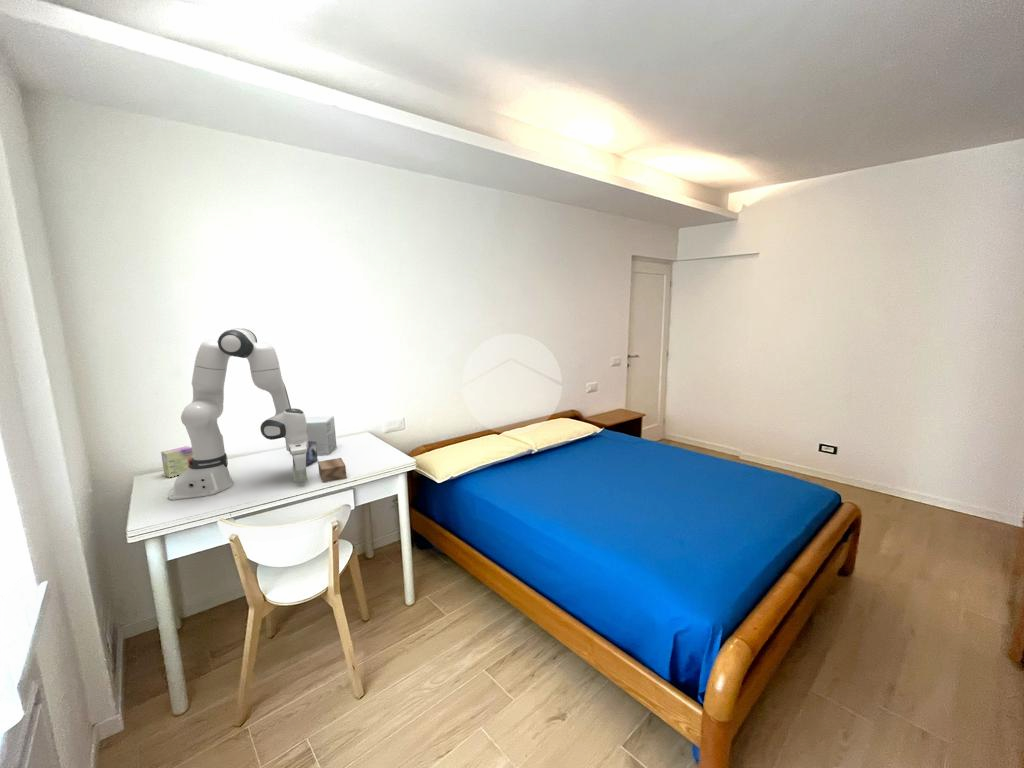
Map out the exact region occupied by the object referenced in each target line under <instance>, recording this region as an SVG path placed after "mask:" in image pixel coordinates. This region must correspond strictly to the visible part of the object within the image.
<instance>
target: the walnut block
mask: <svg viewBox="0 0 1024 768" xmlns="http://www.w3.org/2000/svg"><path fill="white" fill-rule="evenodd" d="M317 464H318V465H317V466H318V473H319V477H320V480H321V482H322V483H323V482H324V483H327V482H328V481H329V482H333V481H338V480H339V481H340V480H344V479H347V467H346V464H345V462H344V460H343V459H342V458H341V457H338V458H333V459H327V460H320V461H317ZM329 482H328V483H329Z"/></svg>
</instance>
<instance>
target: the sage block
mask: <svg viewBox="0 0 1024 768" xmlns="http://www.w3.org/2000/svg"><path fill="white" fill-rule="evenodd" d="M292 470H293V471H292V472H293V479H294V483H299V482H304V481H308V474H307V472H308V471H307V468H306V469H305V470H303V478H299V474H298V471H296V468H295V466H292Z"/></svg>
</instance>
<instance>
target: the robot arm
mask: <svg viewBox="0 0 1024 768" xmlns="http://www.w3.org/2000/svg"><path fill="white" fill-rule="evenodd" d="M231 357H235V358H236V357H237V358H241V359H247V361H248V363H249V369H250V370H249V371H250V375H251V379H252V382H253V384H254V386H256V387H257V388H258V389H260V390H262V391H266V392H267V393H269V394H270V395H271V397H272V401H273V404H274V405H273V406H274V409H275V414H274V416H271V417H269V418H267V419H266V420H264V421H262V423H261V424H260V432H261V433H260V434H261V435H262V436H263V438H265V439H266V440H270V441H271V440H277V439H278V440H279V439H283V438H284V440H285V449H286V451H287V452H289V454H290V455H291V456H292V461H293V460H294V464H295V468H296V471H298V474H299V478H303V470H305V469H306V470H307V467H306V452H307V449H308V447H309V446H308V436H307V434H306V429H307V425H306V419H305V417H306V415H305V413H304V411H303V410H301V409H300V408H292V406H291V403H290V399H289V395H288V390H287V388H286V385H285V383H284V380H283V378H282V377H283V376H282V372H281V367H280V362H279V359H278V355H277V352H276V349H275V348H274V346H273V345H271V344H267V343H259V342H258V338H257V336H256V335H255V333H254V332H252V331H251V330H249V329H246V328H232V329H229V330H225V331H223V332H222V333H221V334H220V335H219V336H218V339H217V340H215V339H214V340H213V339H210V340H209V339H208V340H204V341H203V342H202V343H201V344H200V346H199V348H198V351H197V353H196V356H195V361H194V366H193V372H192V379H191V386H192V401H191V403H189V404H187V405H186V406H185V407H184V408H183V411H182V412H181V416H180V419H181V423H182V424H183V426H184V427H185V429H186V432H187V435H188V437H189V439H190V444H191V447H192V452H193V457H190V458H189V459H188V467H189V468H188V469H187V470H186V471H184V472H183V473H182V474H181V475H179V476H176V477H177V478H176V479H175V481H174V484H173V488H172V489H170V491H168V494H167V498H168V500H171V501H176V500H184V499H193V498H200V497H207V496H213V495H216V494H217V493H219V492H222V491H224V490H226V489H229V488H231V487H232V486H233V485H234V481H233V480H232V478H231V475H230V471H229V467H228V465H229V463H228V456H227V453H226V451H225V443H224V436H223V434H222V433H221V430H220V427H219V425H218V419H219V418H220V417H221V416H222V414H223V412H224V398H225V396H224V395H225V393H224V392H225V391H224V389H225V381H226V375H227V371H228V363H229V360H230V358H231Z"/></svg>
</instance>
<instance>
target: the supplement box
mask: <svg viewBox="0 0 1024 768" xmlns="http://www.w3.org/2000/svg"><path fill="white" fill-rule="evenodd" d="M305 419H306V425H307V429H306V434H307V436H308V441H312V442H316V446H317V456H328V455H329V456H330V454H332V453H333V452H334V451H335V450H336V449H337V448H338V447H337V436H336V427H335V426H336V425H335V416H333V415H331V416H308V417H307V416H305Z"/></svg>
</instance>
